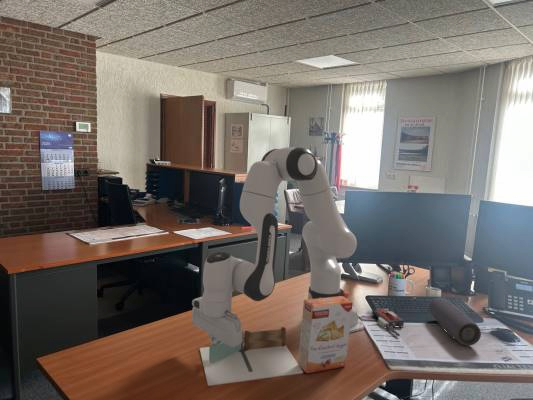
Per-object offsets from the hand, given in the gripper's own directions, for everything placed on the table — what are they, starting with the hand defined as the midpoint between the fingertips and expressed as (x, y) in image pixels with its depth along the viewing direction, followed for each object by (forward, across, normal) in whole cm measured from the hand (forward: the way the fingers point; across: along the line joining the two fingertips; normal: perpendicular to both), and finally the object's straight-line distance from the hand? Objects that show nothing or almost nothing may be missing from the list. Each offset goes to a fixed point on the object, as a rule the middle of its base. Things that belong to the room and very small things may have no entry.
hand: (215, 348), depth 119 cm
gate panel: (+3, -2, -3) cm, 4 cm away
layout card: (+3, -8, -7) cm, 11 cm away
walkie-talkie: (+3, -27, -64) cm, 70 cm away
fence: (+3, -6, -16) cm, 17 cm away
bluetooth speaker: (+3, -45, -75) cm, 88 cm away
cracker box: (+3, -25, -21) cm, 33 cm away
